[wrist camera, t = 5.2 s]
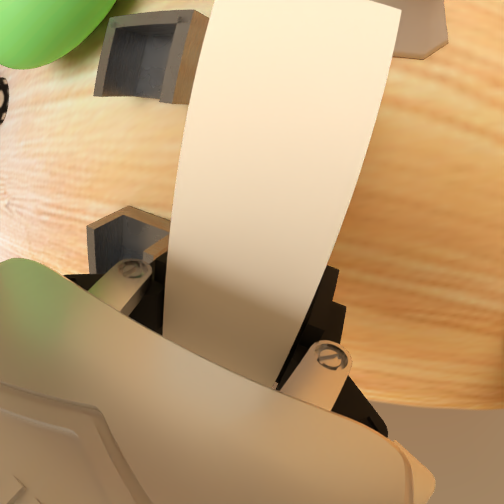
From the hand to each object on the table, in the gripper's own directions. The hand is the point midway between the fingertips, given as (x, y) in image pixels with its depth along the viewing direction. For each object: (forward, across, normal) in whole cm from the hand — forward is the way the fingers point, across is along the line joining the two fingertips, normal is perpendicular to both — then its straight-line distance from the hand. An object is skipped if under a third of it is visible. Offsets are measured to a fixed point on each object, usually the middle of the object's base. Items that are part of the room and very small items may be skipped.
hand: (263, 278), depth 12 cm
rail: (+1, 0, 0) cm, 1 cm away
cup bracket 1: (+11, +13, -9) cm, 20 cm away
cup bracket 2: (+11, +13, +8) cm, 19 cm away
